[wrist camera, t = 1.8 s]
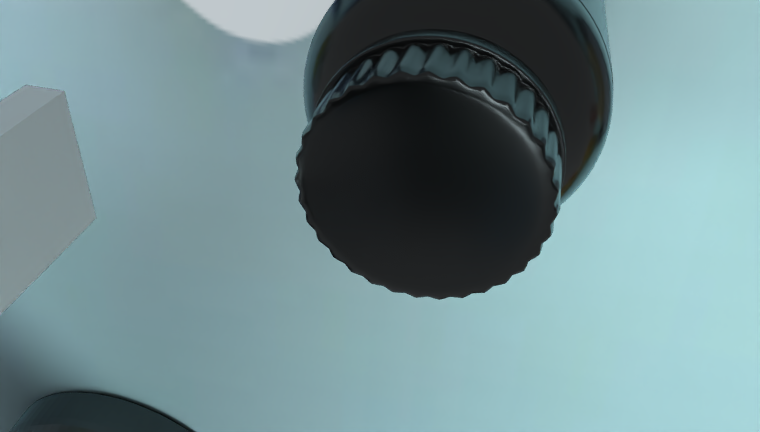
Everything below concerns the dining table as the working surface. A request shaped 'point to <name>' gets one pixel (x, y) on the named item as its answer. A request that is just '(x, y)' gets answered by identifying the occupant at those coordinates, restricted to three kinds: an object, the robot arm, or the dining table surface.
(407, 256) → the supplement bottle
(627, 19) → the dining table surface
